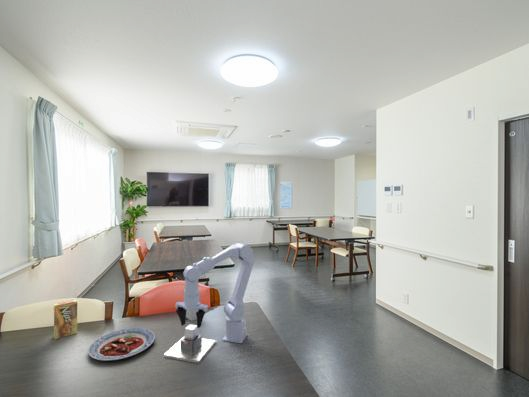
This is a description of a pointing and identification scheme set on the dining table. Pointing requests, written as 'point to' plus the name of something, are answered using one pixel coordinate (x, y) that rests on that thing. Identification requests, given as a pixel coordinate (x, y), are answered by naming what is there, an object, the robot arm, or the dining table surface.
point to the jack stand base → (190, 349)
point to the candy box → (65, 319)
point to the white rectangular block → (191, 332)
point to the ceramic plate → (121, 344)
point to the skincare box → (192, 310)
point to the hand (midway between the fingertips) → (191, 325)
